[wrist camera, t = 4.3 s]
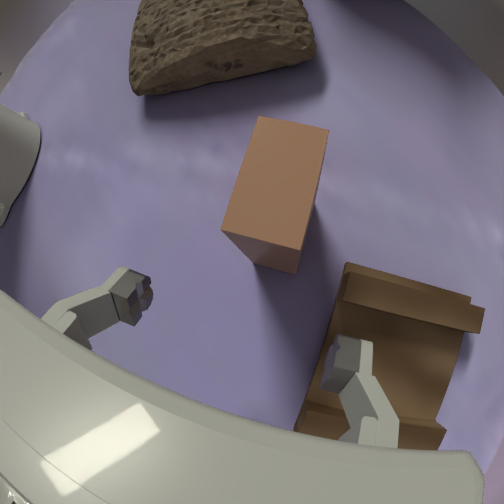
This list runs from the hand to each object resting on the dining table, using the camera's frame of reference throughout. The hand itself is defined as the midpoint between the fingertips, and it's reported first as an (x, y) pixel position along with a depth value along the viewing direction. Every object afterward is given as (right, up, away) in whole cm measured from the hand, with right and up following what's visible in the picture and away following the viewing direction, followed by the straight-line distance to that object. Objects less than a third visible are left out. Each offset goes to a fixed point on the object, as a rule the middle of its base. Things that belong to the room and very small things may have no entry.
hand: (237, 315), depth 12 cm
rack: (+12, -6, +9) cm, 16 cm away
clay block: (+3, +4, +12) cm, 13 cm away
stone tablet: (-4, +34, +18) cm, 39 cm away
